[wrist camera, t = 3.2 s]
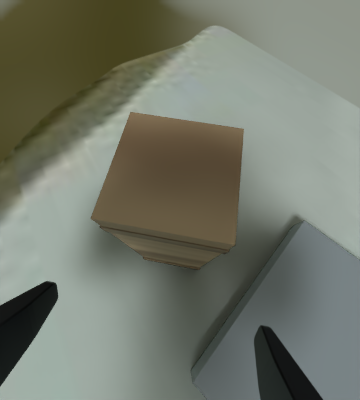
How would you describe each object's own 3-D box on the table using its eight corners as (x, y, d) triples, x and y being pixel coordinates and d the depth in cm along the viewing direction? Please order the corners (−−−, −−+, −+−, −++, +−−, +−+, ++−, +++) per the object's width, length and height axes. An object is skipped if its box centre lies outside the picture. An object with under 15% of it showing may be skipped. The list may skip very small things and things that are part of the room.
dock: (332, 529, 12) (360, 575, 11) (190, 370, 15) (192, 383, 14) (413, 316, 17) (443, 320, 15) (293, 225, 20) (305, 219, 18)
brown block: (198, 270, 18) (238, 248, 6) (145, 259, 19) (86, 220, 7) (205, 217, 20) (246, 127, 8) (157, 209, 21) (128, 109, 9)
